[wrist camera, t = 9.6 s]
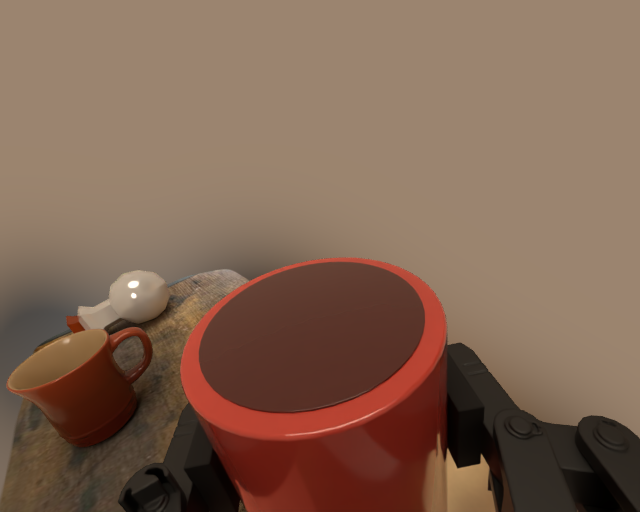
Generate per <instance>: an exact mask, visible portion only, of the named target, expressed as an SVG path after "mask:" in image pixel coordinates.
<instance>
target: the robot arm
mask: <svg viewBox="0 0 640 512" xmlns="http://www.w3.org/2000/svg"><path fill="white" fill-rule="evenodd" d="M173 436H174V437H173V438H172V440H171V443H170V446H169V448H168V451H167V454H166V456H165V459H164V462H163V463H153V464H150V465H147V466H145V467H143V468H142V469H141V470H139V471H138V472H136V473H135V474H134V475H133V476H132V477H131V478H130V479H129V481H128V482H127V483H126V485H125V486H124V488H123V490H122V491H121V494H120V497H119V500H118V503H119V504H120V505H121V506H122V507H123V508H124V510H125V511H126V512H209V511H210V512H238V509H239V502H240V498H239V496H238V494H237V492H236V491H235V489H234V487H233V485H232V483H231V481H230V479H229V477H228V475H227V474H226V472H225V470H224V468H223V466H222V464H221V462H220V460H219V458H218V457H217V455H216V453H215V451H214V449H213V447H212V445H211V443H210V442H209V440H208V438H207V436H206V434H205V432H204V430H203V428H202V426H201V425H200V423H199V421H198V419H197V417H196V415H195V413H194V411H193V409H192V408H191V406H190V404H189V403H188V404H187V406H186V407H185V408H184V410H183V411H182V413H181V416H180V419H179V421H178V427H176V430H175V432H174V435H173ZM447 448H448V450H449V452H450V454H451V456H452V458H453V460H454V462H455V464H456V467H457V469H458V468H463V467H468V466H472V465H477V464H480V463H481V454H482V456H483V457H484V459H485V461H486V463H487V464H488V466H489V475H488V490H489V491H492V495H493V500H494V506H495V511H496V512H640V439H639V437H638V436H637V435H635V434H634V433H633V432H632V431H631V430H630V429H628V428H627V427H625V426H624V425H622V424H620V423H618V422H617V421H615V420H612V419H609V418H605V417H603V416H588V417H584V418H582V420H581V421H580V422H579V423H578V426H570V425H560V424H551V423H546V422H542V421H539V420H538V419H536V418H535V417H534V416H533V415H531V414H529V413H527V412H525V411H523V410H520V409H519V408H518V407H517V405H516V404H514V402H513V401H512V399H511V398H510V397H509V396H508V394H507V393H506V392H505V390H504V389H503V388H502V387H501V385H500V384H499V383H498V382H497V380H496V379H495V378H494V377H493V376H492V374H491V373H490V372H488V369H487V368H486V366H485V365H484V364H483V363H482V362H481V360H480V359H479V358H478V356H477V355H476V354H475V352H474V351H473V350H471V349H470V348H468V347H467V346H465V345H464V344H462V343H456V344H451V345H447Z"/></svg>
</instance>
